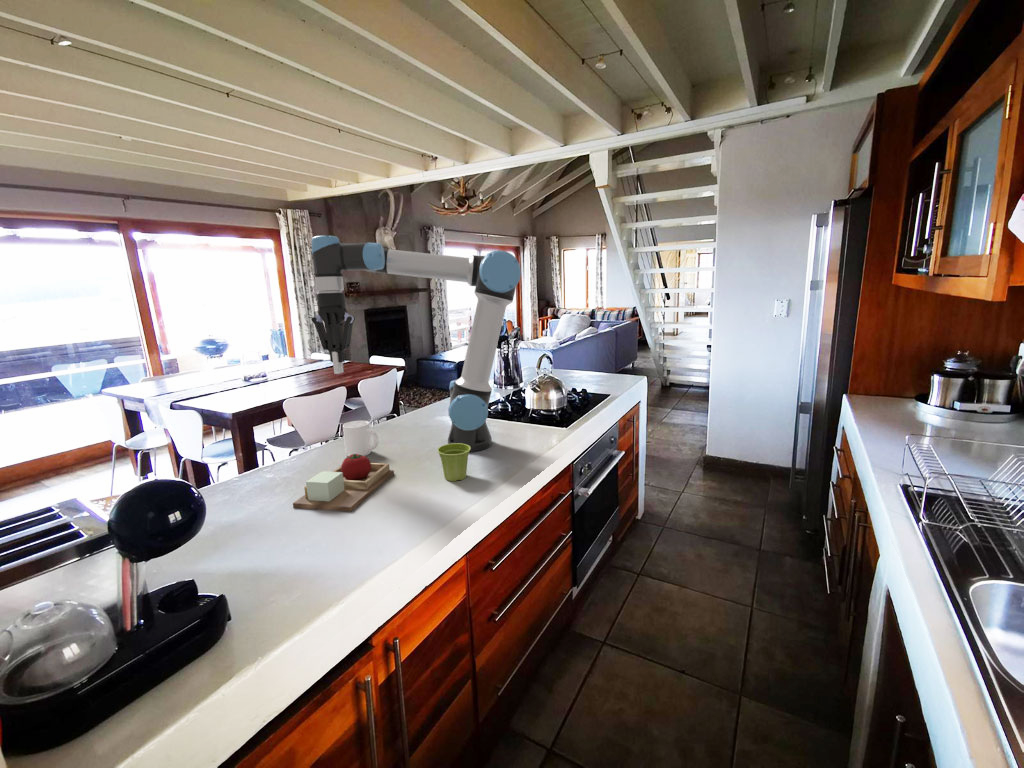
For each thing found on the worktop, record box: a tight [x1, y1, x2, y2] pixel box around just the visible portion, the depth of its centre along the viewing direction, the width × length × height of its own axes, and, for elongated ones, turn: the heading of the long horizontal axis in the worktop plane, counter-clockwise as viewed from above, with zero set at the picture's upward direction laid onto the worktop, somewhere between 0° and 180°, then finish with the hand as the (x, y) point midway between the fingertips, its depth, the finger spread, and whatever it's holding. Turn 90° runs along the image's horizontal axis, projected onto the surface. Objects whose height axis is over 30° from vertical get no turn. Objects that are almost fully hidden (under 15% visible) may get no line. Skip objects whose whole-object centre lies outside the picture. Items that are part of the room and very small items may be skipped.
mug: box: [342, 420, 379, 457], centre depth 155 cm, size 12×8×10 cm
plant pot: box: [437, 443, 471, 482], centre depth 133 cm, size 9×9×9 cm
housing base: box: [292, 462, 395, 513], centre depth 128 cm, size 16×24×4 cm, turn 169°
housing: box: [305, 470, 344, 502], centre depth 122 cm, size 6×7×5 cm
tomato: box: [340, 454, 372, 481], centre depth 132 cm, size 8×8×7 cm
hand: (338, 373), depth 139 cm, fingers closed
